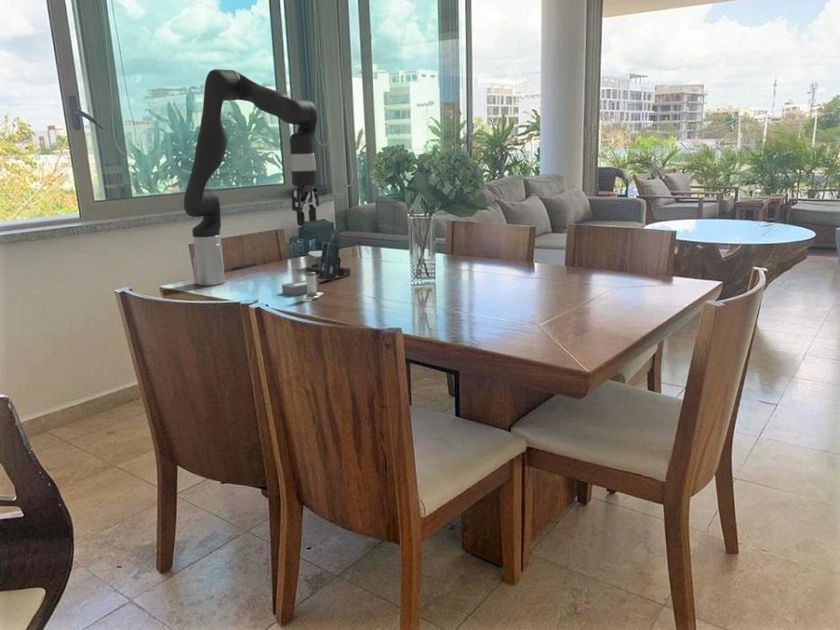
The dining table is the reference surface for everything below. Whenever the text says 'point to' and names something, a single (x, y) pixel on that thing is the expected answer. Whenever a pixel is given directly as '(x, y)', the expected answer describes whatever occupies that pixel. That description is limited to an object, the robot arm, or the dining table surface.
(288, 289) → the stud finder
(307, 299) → the cream flat strip
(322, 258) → the gun
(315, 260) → the decorative stone
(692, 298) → the dining table surface
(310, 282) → the grey beige cylinder
